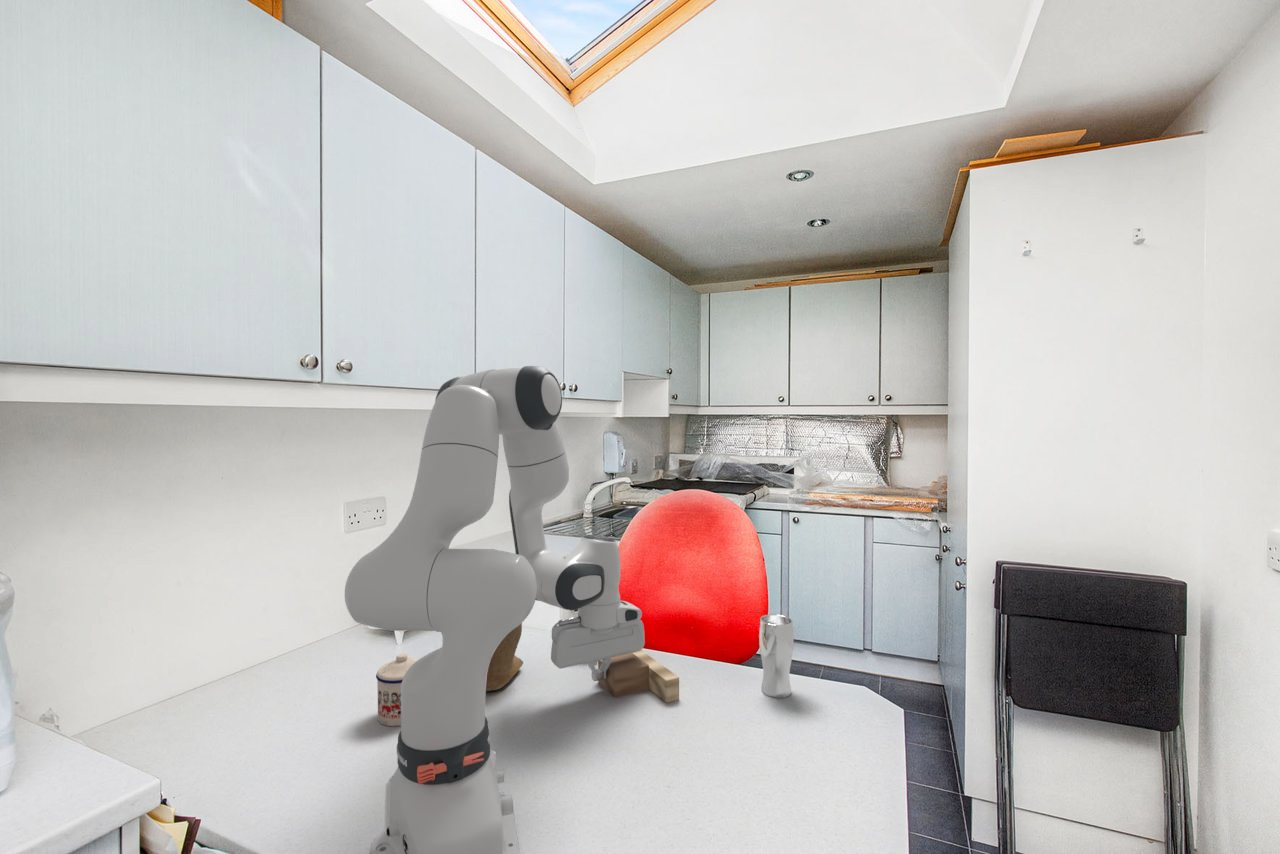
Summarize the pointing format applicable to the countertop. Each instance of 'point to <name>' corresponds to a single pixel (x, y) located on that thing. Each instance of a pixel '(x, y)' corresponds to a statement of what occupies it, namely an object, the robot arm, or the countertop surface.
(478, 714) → the robot arm
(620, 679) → the block
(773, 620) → the silver metal tumbler
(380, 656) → the countertop surface
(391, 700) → the teacup with lid
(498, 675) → the stone cup
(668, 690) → the light wooden bar
